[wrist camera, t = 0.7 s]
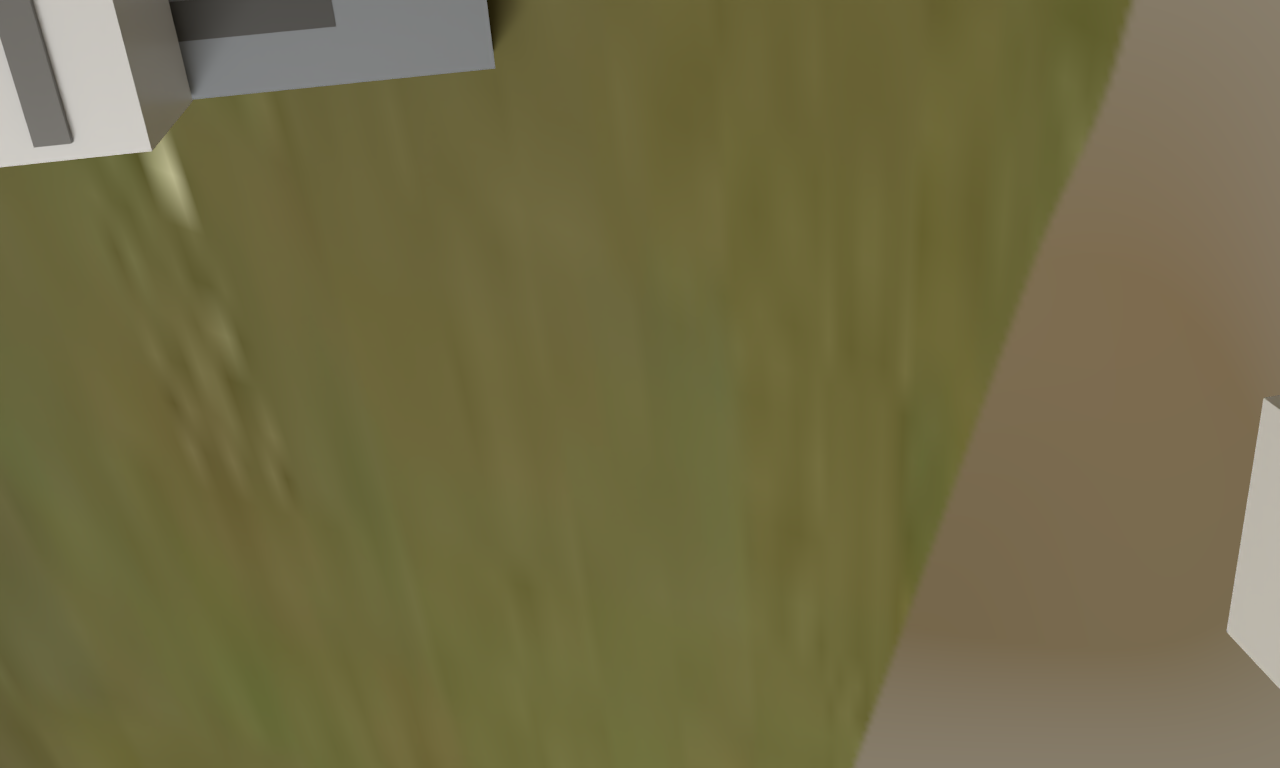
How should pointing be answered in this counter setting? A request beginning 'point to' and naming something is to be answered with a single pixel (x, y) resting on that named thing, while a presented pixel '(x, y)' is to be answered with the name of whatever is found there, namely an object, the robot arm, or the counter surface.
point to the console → (325, 42)
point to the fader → (87, 78)
